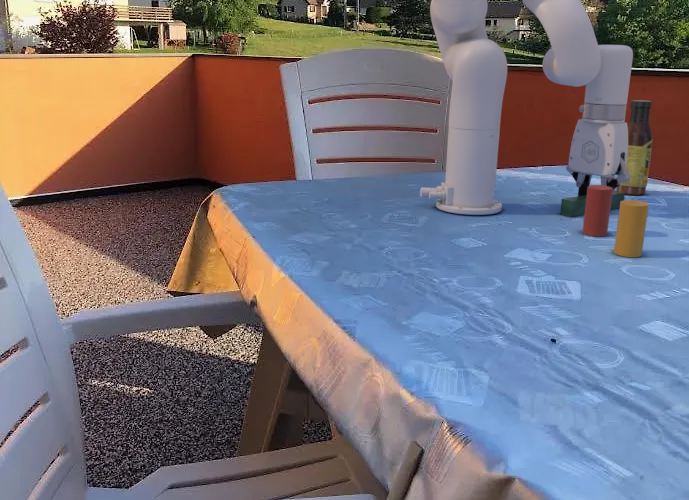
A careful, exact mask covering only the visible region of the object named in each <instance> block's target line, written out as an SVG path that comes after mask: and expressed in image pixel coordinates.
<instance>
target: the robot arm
mask: <svg viewBox="0 0 689 500" xmlns="http://www.w3.org/2000/svg"><path fill="white" fill-rule="evenodd" d="M521 1H522V2H523V4H524V5H525V7H526V8H527V9H528V10H529V11H530V12H531V13H532V14H534V15H535V17H536V18H537V19H538V20H539V22H540V24H541V25H542V27H543V29H544V32H545V33H546V36H547V38H548V41H549V43H550V46H551V48H550V49H548V50H547V52H545V55H543V59H542V65H541V66H542V71H543V74H544V75H545V77H546V78H547V79H548V80H549V81H551V82H553V83H555V84H558V85H561V86H569V87H575V88H577V87H578V88H579V87H583V86H585V89H584V90H585V92H584V101H583V104H580V106H579V107H578V111H579V112H580V113H582V117H581V118H578V119H577V123H576V124H575V127H574V128H575V129H574V130H573V131H574V132H573V136H572V140H571V143H570V145H571V146H570V151H569V155H568V163H567V165H566V167H565V171H567V172H568V173H569V174H570V175H571V177H572V178H573V180H574V181H575V186H576V187H577V188H578V190H577V196H582V195H587V188H588V186H590V185H591V181H592V177H593V176H597V177H600V185H602V186H609V187H612V188H613V191H616V189H617V187H618V186H619V185H620V184H622V183H624V182H626V181H629V180H630V176H629V173H628V170H627V167H626V165H627V156H628V127H627V126H628V122H625V121H626V113H627V106H628V105H627V104H628V98H629V90H630V81H631V74H632V67H633V60H634V59H633V58H634V52H633V48H632V47H630V46H628V45H624V44H599V43H598V40H597V37H596V34H595V31H594V27H593V25H592V22H591V19H590V16H589V14H588V12H587V10H586V8H585V6H584V5H583V3H582V1H581V0H521ZM488 6H489V5H488V0H431V1H430V5H429V9H430V10H429V14H430V21H431V24H432V28H433V31H434V35H435V38H436V42H437V45H438V49H439V52H440V55H441V59H442V62H443V65H444V69H445V71H446V74H447V76H448V78H449V79H450V81H451V82H452V86H451V93H450V101H449V111H448V129H447V130H448V131H447V147H446V150H447V151H446V161H445V178H444V179H445V180H444V181H443V182H440V183H441V184H440V185H437V186H436V187H420V189H419V196H420V198H429V199H430V200H435V199H436V200H435V207H436V208H437V209H438V210H440V211H443V212H447V213H451V214H457V215H464V216H465V215H466V216H486V215H493V214H497V213H500V212H501V211H502V209H503V204H502V202H501V201H499V200H496V199H495V196H496V194H495V193H496V182H497V170H498V169H497V168H498V158H499V146H500V145H499V144H500V135H501V134H500V131H501V120H502V119H501V118H502V109H503V101H504V95H505V94H504V93H505V89H506V84H507V78H508V61H507V56H506V54H505V51H504V50H503V48H502V47H501V46H500V45H499V44H498V43H497V42H496V41H493V40H492V39H489V37H488V34H487V30H486V26H485V22H484V20H485V19H486V16H487V13H488V8H489V7H488ZM617 175H619V176H618V177H617Z"/></svg>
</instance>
